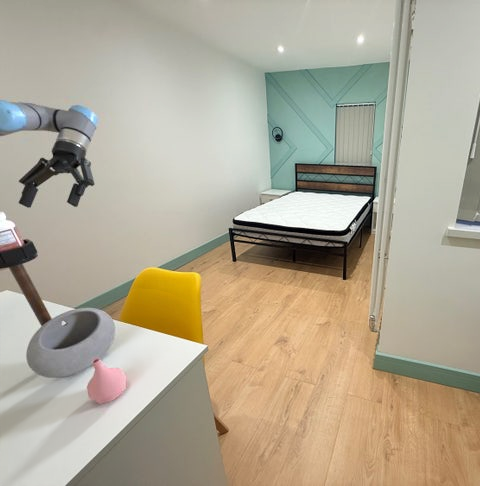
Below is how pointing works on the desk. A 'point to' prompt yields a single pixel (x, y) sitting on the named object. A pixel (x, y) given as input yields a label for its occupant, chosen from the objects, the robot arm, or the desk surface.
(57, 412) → the desk surface
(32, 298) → the stand
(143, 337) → the desk surface
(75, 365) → the planter
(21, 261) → the holder
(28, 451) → the desk surface
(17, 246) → the pill bottle
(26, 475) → the desk surface
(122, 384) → the pink vase
